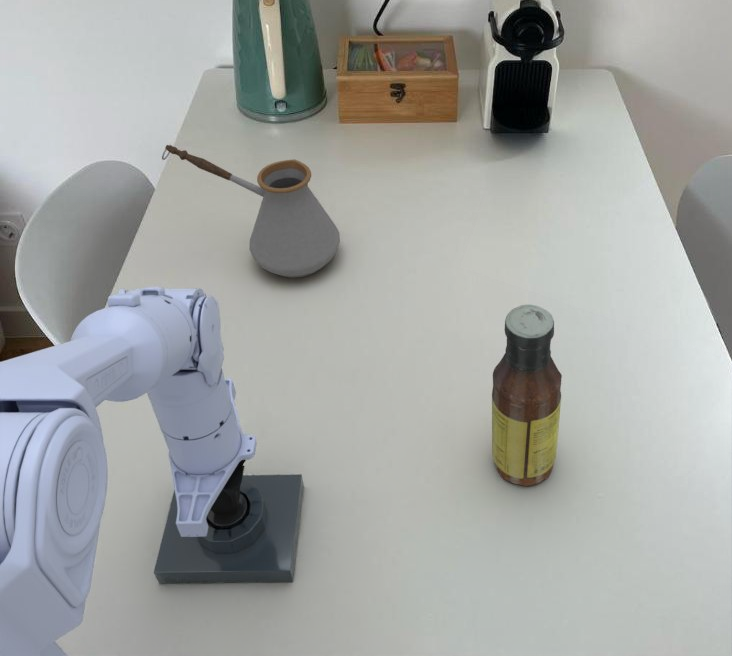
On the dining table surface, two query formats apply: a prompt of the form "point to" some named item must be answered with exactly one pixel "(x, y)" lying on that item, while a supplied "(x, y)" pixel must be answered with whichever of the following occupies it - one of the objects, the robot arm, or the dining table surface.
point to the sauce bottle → (526, 399)
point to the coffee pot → (283, 217)
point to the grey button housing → (239, 539)
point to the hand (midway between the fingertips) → (226, 507)
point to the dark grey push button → (229, 517)
